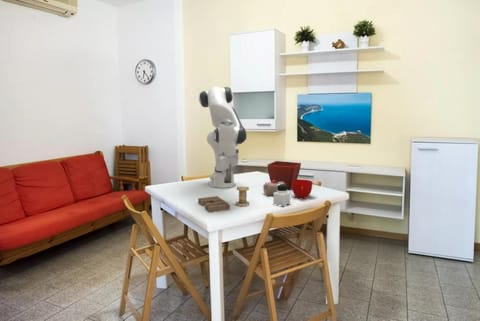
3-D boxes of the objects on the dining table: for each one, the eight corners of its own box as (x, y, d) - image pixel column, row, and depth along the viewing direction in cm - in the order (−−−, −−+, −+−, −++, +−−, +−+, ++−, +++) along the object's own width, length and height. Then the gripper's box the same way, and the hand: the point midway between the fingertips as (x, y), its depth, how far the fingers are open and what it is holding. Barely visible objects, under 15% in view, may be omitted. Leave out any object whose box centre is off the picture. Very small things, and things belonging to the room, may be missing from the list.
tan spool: (233, 203, 217) (233, 186, 215) (246, 202, 220) (246, 185, 218) (239, 206, 209) (239, 189, 208) (251, 205, 213) (251, 188, 211)
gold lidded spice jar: (223, 181, 206) (223, 162, 204) (230, 181, 207) (230, 162, 205) (224, 183, 202) (224, 164, 200) (231, 183, 203) (231, 163, 201)
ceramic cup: (290, 201, 222) (291, 184, 221) (291, 194, 239) (291, 179, 237) (312, 202, 220) (313, 185, 219) (311, 195, 237) (312, 179, 235)
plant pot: (300, 185, 263) (301, 162, 261) (293, 191, 246) (293, 166, 244) (275, 183, 271) (276, 160, 269) (266, 188, 254) (266, 164, 252)
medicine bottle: (290, 204, 215) (290, 184, 213) (283, 206, 210) (283, 186, 208) (280, 202, 220) (280, 182, 218) (273, 204, 215) (273, 184, 213)
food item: (266, 197, 232) (266, 181, 230) (262, 193, 240) (262, 179, 238) (286, 195, 235) (286, 180, 233) (282, 192, 243) (282, 178, 241)
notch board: (198, 203, 217) (198, 198, 217) (217, 200, 222) (217, 196, 222) (209, 212, 199) (209, 206, 199) (229, 209, 204) (229, 204, 204)
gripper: (223, 154, 191) (223, 180, 193) (240, 149, 209) (240, 173, 211) (212, 153, 194) (213, 179, 196) (230, 148, 212) (230, 172, 214)
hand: (227, 176), depth 204 cm, fingers closed on gold lidded spice jar, 4 cm apart
